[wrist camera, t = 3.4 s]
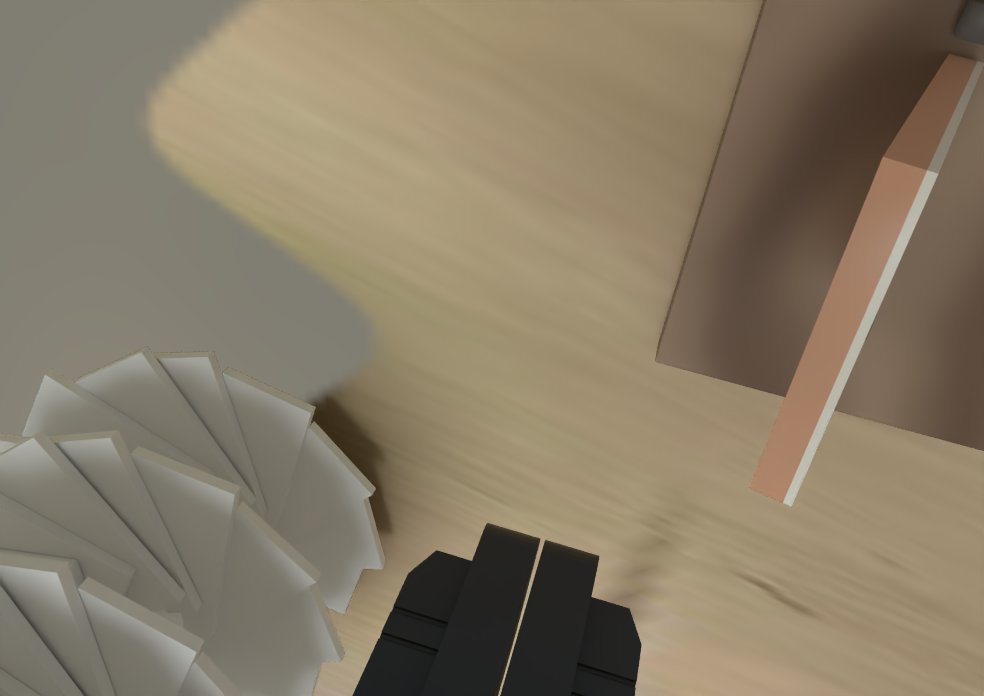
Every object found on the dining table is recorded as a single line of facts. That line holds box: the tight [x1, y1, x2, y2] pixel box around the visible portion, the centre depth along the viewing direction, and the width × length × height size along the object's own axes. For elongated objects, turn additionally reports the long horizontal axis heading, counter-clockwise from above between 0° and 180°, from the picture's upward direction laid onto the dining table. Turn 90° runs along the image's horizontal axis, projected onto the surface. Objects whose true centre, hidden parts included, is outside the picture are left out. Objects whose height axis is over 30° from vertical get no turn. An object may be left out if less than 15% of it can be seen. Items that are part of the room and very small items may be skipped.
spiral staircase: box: [0, 347, 386, 696], centre depth 35 cm, size 18×18×25 cm
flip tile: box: [749, 54, 984, 506], centre depth 24 cm, size 13×8×1 cm
